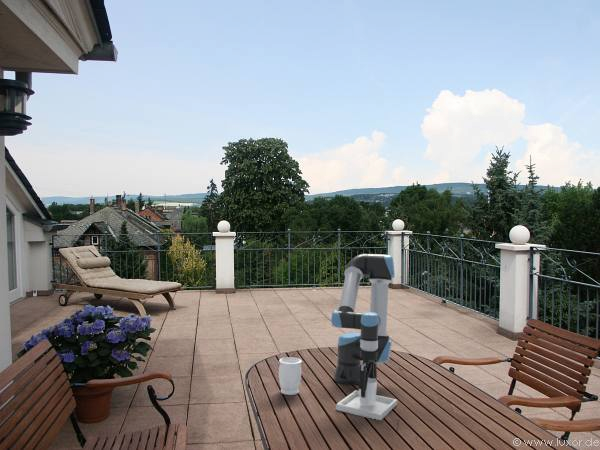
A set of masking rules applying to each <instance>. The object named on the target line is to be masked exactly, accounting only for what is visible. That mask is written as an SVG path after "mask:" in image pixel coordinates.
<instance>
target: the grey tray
mask: <svg viewBox="0 0 600 450" xmlns="http://www.w3.org/2000/svg"><path fill="white" fill-rule="evenodd" d="M396 405H397V406H398V399H396V398H392V397H388V396H383V395H378V394H376V398H375V404H374V405H372V406H366V405H362V404H360V398H359V390H357V389H355V390H354V391H352V392H351V393H349V394H348V395H347V396H345V397H344V398H343V399H341V400H340V401H338V402H337V403H336V404H335V410H336V411H338V412H339V411H340V412H343V413H347V414H352V415H355V416H358V417H362V418H367V419H370V418H372V419H371V420H374V419H376V420H375V421H378V420H380V421H379V422H381V421H383V420H384V418H385V417H386V416H387V415H389V414H390V413H391V412H392V411H393V410H394V409H393V408H394V407H395V406H396ZM397 406H396V407H397ZM396 407H395V408H396ZM392 409H393V410H392ZM391 410H392V411H391ZM390 411H391V412H390ZM389 412H390V413H389Z"/></svg>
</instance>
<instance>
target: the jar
mask: <svg viewBox="0 0 600 450" xmlns="http://www.w3.org/2000/svg"><path fill="white" fill-rule="evenodd" d="M278 363H279V368H278V380H279V386H280V388H281V389H280V393H281V394H283V395H286V396H294V395H297V394H299V388H300V385H301V380H302V365H301V364H302V359H301V358H298V357H294V356H293V357H290V356H289V357H282V358H280V359H279V360H278Z"/></svg>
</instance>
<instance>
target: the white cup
mask: <svg viewBox="0 0 600 450" xmlns="http://www.w3.org/2000/svg"><path fill="white" fill-rule="evenodd" d="M377 386H378V379H377V380H376V379H374V378H373V379H371V378H369V377H368V382H367V388H366V389H367V405H366V406H372V405H374V404H375V398H376V395H377V389H378V388H377ZM358 391H359V398H360V396H361V389H358ZM362 405H363V404H362Z"/></svg>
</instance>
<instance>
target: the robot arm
mask: <svg viewBox="0 0 600 450" xmlns="http://www.w3.org/2000/svg"><path fill="white" fill-rule="evenodd" d="M343 276H344V277H345V278H344V282H343V286H342V291H341V295H340V298H339V299H340V300H339V303H338V308H337V310H332V313H331V319H330V320H331V325H332V326H333V327H334V328H339V329H353V330H354V329H355V330H360V332H346V333H342V334H340V336H338V340H337V363H336V364H337V365H336V367H335V370H334V371H333V372H334V373H333V381H335V382H337V383H338V384H342V385H358V387H357V388H358V390H359V389H361V396H360V404H363V405H367V389H366V388H367V382H368V377H369V378H371V379H373V378H374V379H376V380H377V381H378V374H377V373H378V371H377V364H378V363H379V364H380V363H382V364H384V363H385V364H386V363H388V361H389V360H390V355H391V351H392V344H393V340H392V339H390V335H389V334H388V332H387V322H388V301H389V300H388V299H389V296H388V295H389V284H390V283H392V281H393V280H392V279H394V278H395V276H396V275H395V265H394V257H393V256H392V255H390V254H377V253H375V254H373V253H360V254H358V255H356V256H354V257H353V258H352V259H351V260H349V262H348V263H347V264H346V266H345V269H344V273H343ZM364 277H368V281H369V282H370V283H371V286H370V287H371V289H370V306H369V308H370V309H369V312H367V311H366V312H357V311H355V309H356V303H357V299H358V294H359V287H360V282H361V280H362V279H363V278H364ZM361 362H362V365H361Z"/></svg>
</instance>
